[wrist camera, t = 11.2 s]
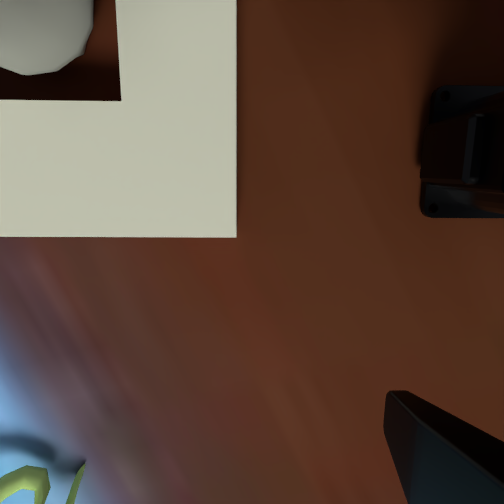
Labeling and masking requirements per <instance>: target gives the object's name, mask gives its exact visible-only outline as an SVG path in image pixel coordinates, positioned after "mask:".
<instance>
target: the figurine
mask: <svg viewBox="0 0 504 504" xmlns="http://www.w3.org/2000/svg"><path fill="white" fill-rule="evenodd" d="M84 468H85V464H84V465H83V466H82V467H81V468H80V469H79V471H78V473H77V474H76V476H75V479H74V482H73V484H72V487H71V490H70V493H69V496H68V499H67V502H66V504H74V502H75V498H76V494H77V490H78V487H79V484H80V481H81V478H82V475H83V472H84ZM50 488H51V487H50V482H49V477H48V473H47V469H46V468H40V467H34V466H28V465H26V466H24V467H21V468H19V469H17V470H15V471H12V472H10V473H8V474H6V475H4V476H3V477H1V478H0V503H1V502H2V501H3V500H4V499H5V498H7V497H8V496H10V495H12V494H13V493H15V492H17V491H19V490H20V489H27V490H33V491H35V502H34V504H44V503H45V501H46V498H47V496H48V493H49V490H50Z"/></svg>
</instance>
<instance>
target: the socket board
mask: <svg viewBox="0 0 504 504" xmlns="http://www.w3.org/2000/svg"><path fill="white" fill-rule="evenodd" d="M116 17H117V34H118V51H119V68H120V85H121V101H59V100H0V237H236V233H237V0H116Z"/></svg>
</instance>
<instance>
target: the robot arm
mask: <svg viewBox="0 0 504 504" xmlns="http://www.w3.org/2000/svg"><path fill="white" fill-rule="evenodd" d="M442 92H443V93H445V95H446V100H445V101H442V100H441V99H440V95H441V93H442ZM420 178H421V179H422V181H423V187H422V197H421V207H420V208H421V212H422V214H423V215H424V216H427V217H431V218H504V86H461V85H445V86H441V87H439V88H437V89H436V90H435V91H434V92H433V93H432V97H431V106H430V116H429V125H428V126H427V127H426V128H425V129H424V138H423V149H422V159H421V169H420ZM431 204H434V207H435V208H434V210H433V211H432V212H430V211H429V206H430V205H431ZM383 427H384V434H385V438H386V441H387V444H388V446H389V449H390V452H391V455H392V458H393V461H394V464H395V467H396V470H397V473H398V476H399V479H400V482H401V485H402V488H403V491H404V494H405V496H406V499H407V502H408V504H504V442H503V441H501V440H499V439H497V438H495V437H493V436H491V435H490V434H488V433H486V432H484V431H482V430H480V429H478V428H476V427H474V426H473V425H471V424H469V423H467V422H465V421H463V420H461V419H459V418H458V417H456V416H454V415H452V414H450V413H448V412H446V411H444V410H442V409H441V408H439V407H437V406H435V405H433V404H431V403H429V402H427V401H425V400H424V399H422V398H420V397H418V396H416V395H414V394H412V393H410V392H409V391H405V390H396V391H389V392H388V393H387V395H386V401H385V412H384V424H383Z"/></svg>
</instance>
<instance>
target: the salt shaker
mask: <svg viewBox="0 0 504 504" xmlns="http://www.w3.org/2000/svg"><path fill="white" fill-rule="evenodd" d="M92 29H93V0H0V67H2V68H5V69H8V70H10V71H13V72H16V73H19V74H21V75H35V74H42V73H49V72H56V71H58V70H60V69H61V68H62V67H64V66H65V65H67V64H68V63H69V62H71V61H72V60H74V59H75V58H76V57H79V56H81V55H84V53H85V49H86V44H87V40H88V37H89V35H90V33H91V31H92Z"/></svg>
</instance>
